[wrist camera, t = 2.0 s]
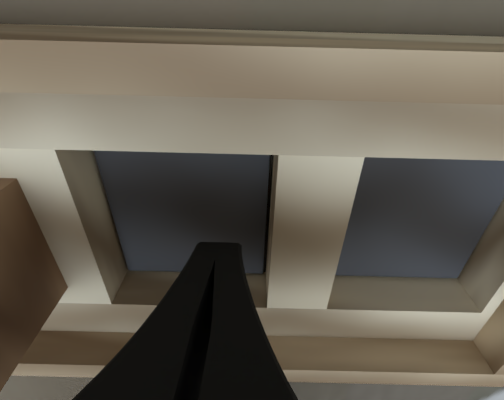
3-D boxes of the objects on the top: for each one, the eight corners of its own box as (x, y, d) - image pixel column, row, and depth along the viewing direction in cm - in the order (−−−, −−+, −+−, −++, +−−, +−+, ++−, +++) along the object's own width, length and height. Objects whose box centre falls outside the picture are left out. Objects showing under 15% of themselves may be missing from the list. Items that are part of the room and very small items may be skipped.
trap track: (461, 316, 16) (506, 386, 13) (-145, 302, 16) (-235, 369, 13) (642, 39, 9) (833, 60, 6) (-463, 11, 9) (-823, 18, 6)
